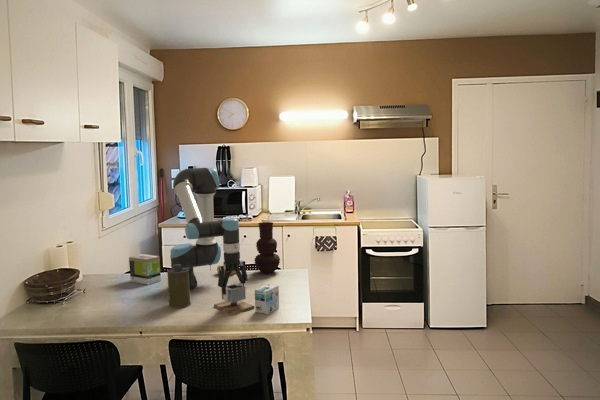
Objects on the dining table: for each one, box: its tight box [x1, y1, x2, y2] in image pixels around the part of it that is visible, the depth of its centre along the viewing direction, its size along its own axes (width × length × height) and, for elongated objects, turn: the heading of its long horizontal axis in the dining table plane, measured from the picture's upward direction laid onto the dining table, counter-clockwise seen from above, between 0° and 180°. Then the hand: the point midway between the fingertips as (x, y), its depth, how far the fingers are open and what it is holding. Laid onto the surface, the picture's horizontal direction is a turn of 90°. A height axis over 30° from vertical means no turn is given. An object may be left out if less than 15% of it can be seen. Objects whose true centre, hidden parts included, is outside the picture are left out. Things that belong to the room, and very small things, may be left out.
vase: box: [253, 221, 281, 275], centre depth 298 cm, size 15×15×30 cm
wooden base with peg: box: [213, 300, 255, 315], centre depth 238 cm, size 16×12×7 cm
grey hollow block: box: [220, 283, 247, 303], centre depth 238 cm, size 8×8×6 cm
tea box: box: [128, 253, 162, 286], centre depth 287 cm, size 15×10×15 cm, turn 58°
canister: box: [166, 264, 192, 309], centre depth 244 cm, size 11×10×20 cm
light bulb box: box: [254, 283, 280, 315], centre depth 234 cm, size 11×7×11 cm, turn 148°
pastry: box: [216, 260, 236, 276], centre depth 300 cm, size 12×12×9 cm
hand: (233, 298), depth 238 cm, fingers closed on grey hollow block, 8 cm apart
